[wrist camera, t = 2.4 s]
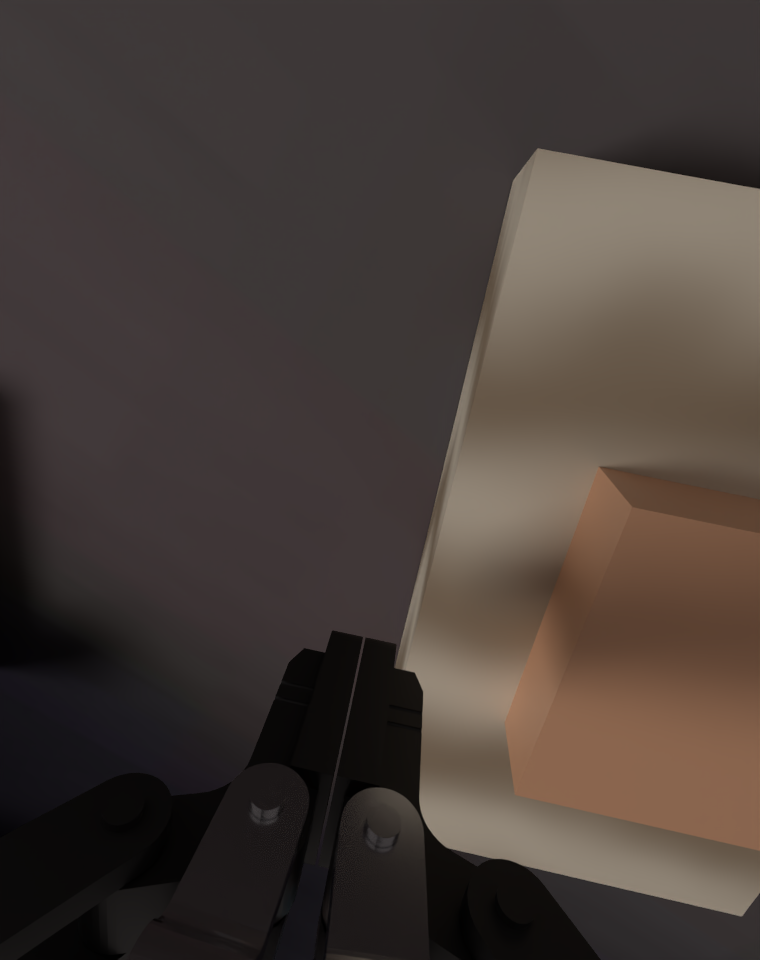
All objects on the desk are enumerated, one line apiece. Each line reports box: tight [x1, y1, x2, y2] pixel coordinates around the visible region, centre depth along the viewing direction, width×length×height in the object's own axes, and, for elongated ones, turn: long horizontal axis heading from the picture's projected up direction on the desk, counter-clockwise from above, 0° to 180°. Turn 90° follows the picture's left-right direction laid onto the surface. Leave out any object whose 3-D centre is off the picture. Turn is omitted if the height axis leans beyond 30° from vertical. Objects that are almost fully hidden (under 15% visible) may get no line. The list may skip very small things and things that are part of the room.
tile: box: [505, 467, 760, 851], centre depth 14 cm, size 9×7×2 cm
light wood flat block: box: [395, 149, 760, 916], centre depth 17 cm, size 22×14×4 cm, turn 170°
